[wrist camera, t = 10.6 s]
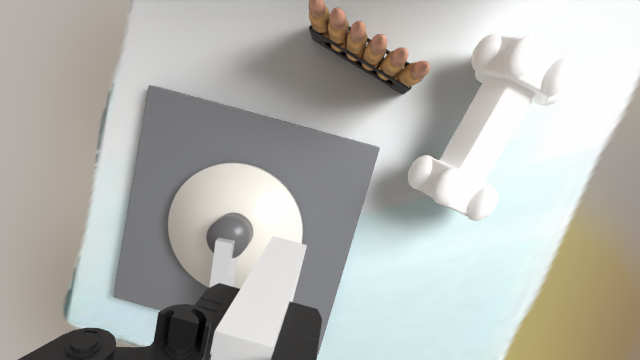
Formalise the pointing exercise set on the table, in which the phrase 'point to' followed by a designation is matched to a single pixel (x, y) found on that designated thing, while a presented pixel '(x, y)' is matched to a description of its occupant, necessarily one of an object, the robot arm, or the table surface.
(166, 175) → the dial base
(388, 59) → the ammunition clip
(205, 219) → the dial
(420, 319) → the table surface
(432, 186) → the white bone
